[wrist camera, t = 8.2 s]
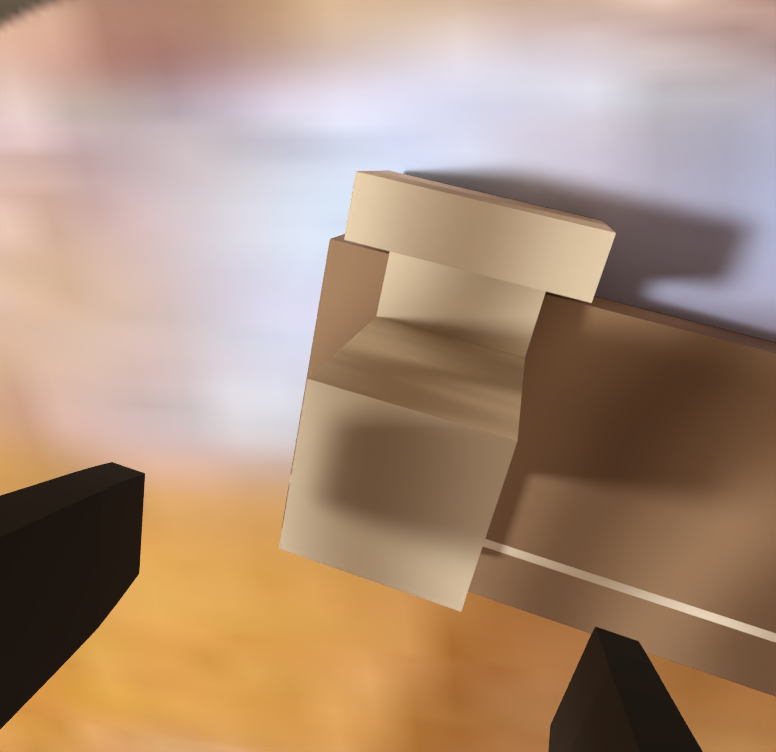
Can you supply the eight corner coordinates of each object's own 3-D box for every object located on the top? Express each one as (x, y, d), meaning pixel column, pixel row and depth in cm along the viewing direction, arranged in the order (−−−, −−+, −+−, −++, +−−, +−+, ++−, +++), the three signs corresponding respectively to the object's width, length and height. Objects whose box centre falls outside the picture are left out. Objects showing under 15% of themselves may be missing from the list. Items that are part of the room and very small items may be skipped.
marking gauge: (602, 220, 16) (648, 261, 9) (494, 538, 20) (470, 733, 13) (388, 170, 17) (283, 173, 10) (327, 484, 21) (221, 639, 14)
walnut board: (1092, 423, 15) (1149, 449, 13) (885, 700, 19) (913, 743, 17) (346, 233, 18) (330, 238, 16) (298, 505, 22) (281, 528, 20)
